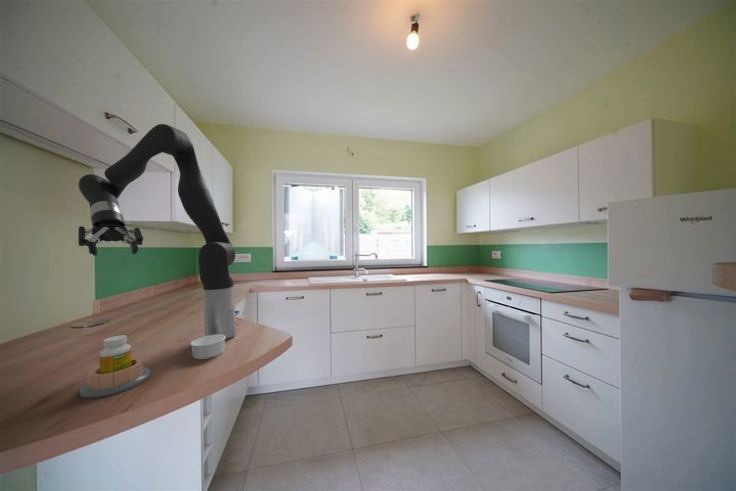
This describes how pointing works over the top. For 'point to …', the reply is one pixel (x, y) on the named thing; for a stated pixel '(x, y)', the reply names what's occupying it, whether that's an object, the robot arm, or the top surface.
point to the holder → (115, 380)
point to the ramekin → (208, 346)
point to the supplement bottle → (115, 355)
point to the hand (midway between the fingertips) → (115, 252)
